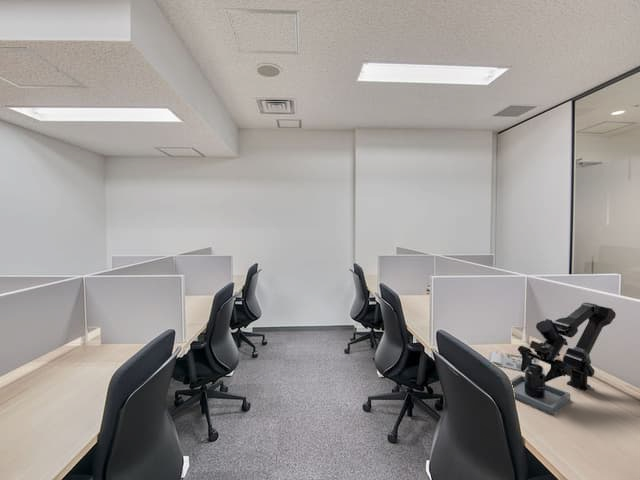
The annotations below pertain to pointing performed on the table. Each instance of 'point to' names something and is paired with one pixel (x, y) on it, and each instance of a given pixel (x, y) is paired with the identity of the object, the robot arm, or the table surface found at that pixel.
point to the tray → (547, 404)
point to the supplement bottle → (534, 381)
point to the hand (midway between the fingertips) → (532, 376)
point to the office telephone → (508, 361)
